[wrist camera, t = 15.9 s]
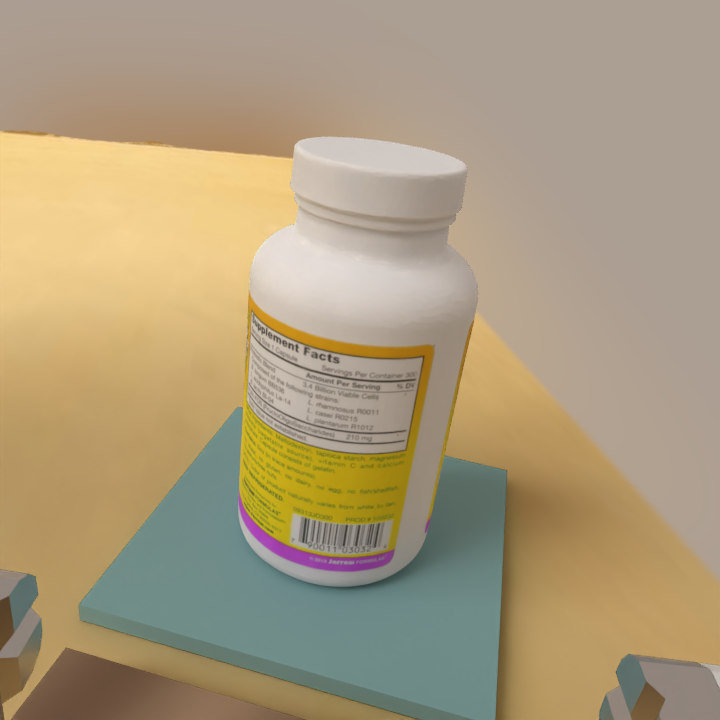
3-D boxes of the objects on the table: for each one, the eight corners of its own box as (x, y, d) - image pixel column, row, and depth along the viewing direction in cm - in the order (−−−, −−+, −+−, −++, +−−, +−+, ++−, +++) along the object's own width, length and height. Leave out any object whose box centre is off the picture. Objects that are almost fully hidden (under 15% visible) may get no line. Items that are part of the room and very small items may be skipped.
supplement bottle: (335, 449, 28) (379, 127, 22) (461, 537, 24) (554, 175, 18) (196, 512, 23) (206, 129, 18) (324, 634, 20) (391, 192, 14)
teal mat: (79, 620, 20) (78, 605, 19) (236, 418, 30) (237, 406, 30) (490, 740, 18) (495, 725, 18) (503, 481, 29) (506, 470, 28)
